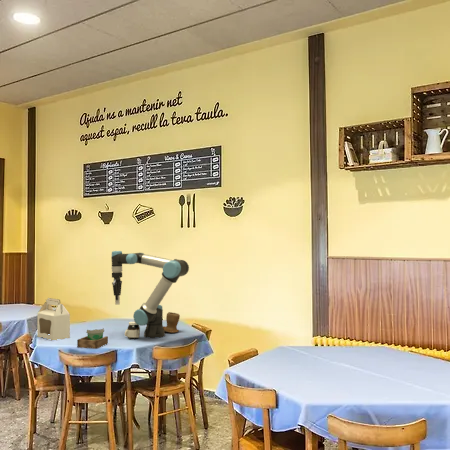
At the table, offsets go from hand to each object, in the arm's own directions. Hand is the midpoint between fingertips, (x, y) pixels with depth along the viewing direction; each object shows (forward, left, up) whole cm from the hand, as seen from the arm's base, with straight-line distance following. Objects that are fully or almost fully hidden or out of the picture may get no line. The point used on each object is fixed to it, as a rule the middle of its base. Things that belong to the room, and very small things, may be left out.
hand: (117, 304), depth 366 cm
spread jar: (-12, +1, -24) cm, 27 cm away
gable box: (+44, +14, -24) cm, 52 cm away
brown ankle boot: (-31, -27, -24) cm, 47 cm away
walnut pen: (+3, +30, -24) cm, 38 cm away
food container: (+3, +25, -24) cm, 35 cm away
